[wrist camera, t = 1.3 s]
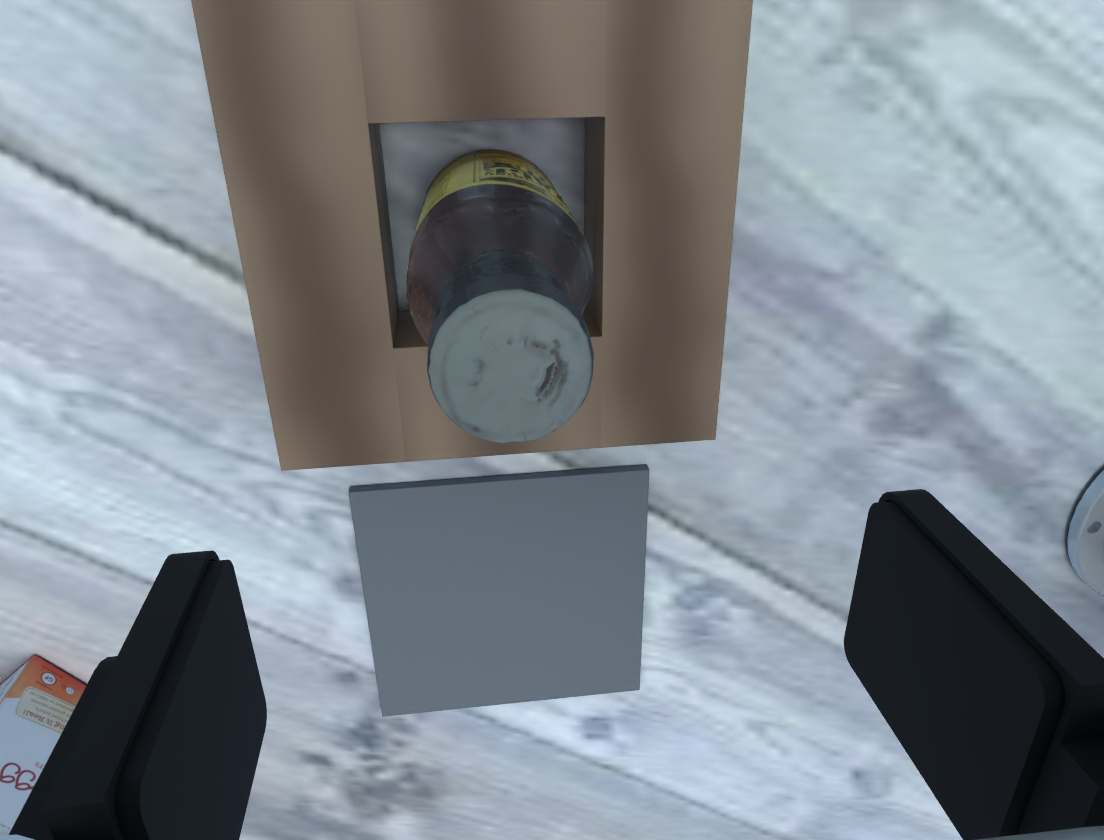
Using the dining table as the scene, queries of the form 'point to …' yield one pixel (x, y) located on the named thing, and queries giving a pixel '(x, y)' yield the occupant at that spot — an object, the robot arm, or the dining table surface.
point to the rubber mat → (503, 586)
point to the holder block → (463, 95)
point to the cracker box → (30, 729)
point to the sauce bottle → (501, 298)
